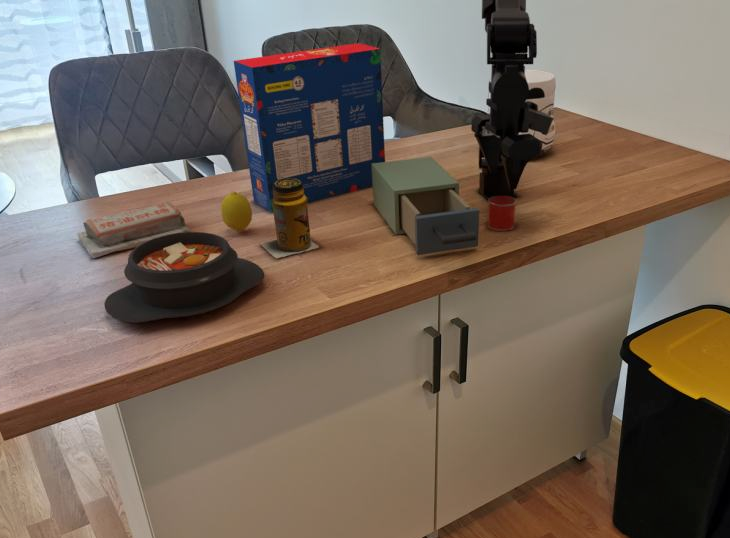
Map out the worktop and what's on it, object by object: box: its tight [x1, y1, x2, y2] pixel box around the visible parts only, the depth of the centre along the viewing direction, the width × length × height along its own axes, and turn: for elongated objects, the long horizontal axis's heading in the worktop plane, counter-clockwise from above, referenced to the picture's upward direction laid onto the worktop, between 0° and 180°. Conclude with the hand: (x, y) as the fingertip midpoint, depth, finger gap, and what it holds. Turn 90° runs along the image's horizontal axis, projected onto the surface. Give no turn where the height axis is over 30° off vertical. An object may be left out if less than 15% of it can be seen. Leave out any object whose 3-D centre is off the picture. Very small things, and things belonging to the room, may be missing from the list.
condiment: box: [260, 178, 320, 259], centre depth 129 cm, size 7×8×12 cm
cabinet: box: [371, 156, 460, 235], centre depth 142 cm, size 17×13×9 cm
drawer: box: [398, 188, 480, 256], centre depth 130 cm, size 21×11×7 cm, turn 18°
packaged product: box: [76, 201, 191, 259], centre depth 135 cm, size 18×5×10 cm
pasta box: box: [233, 42, 386, 214], centre depth 149 cm, size 28×8×28 cm, turn 127°
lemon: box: [220, 191, 253, 233], centre depth 136 cm, size 6×6×8 cm
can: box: [487, 195, 517, 232], centre depth 138 cm, size 5×5×5 cm
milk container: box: [487, 68, 556, 156], centre depth 173 cm, size 17×17×18 cm
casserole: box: [103, 231, 265, 324], centre depth 114 cm, size 25×19×8 cm
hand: (502, 181), depth 135 cm, fingers open, 9 cm apart
